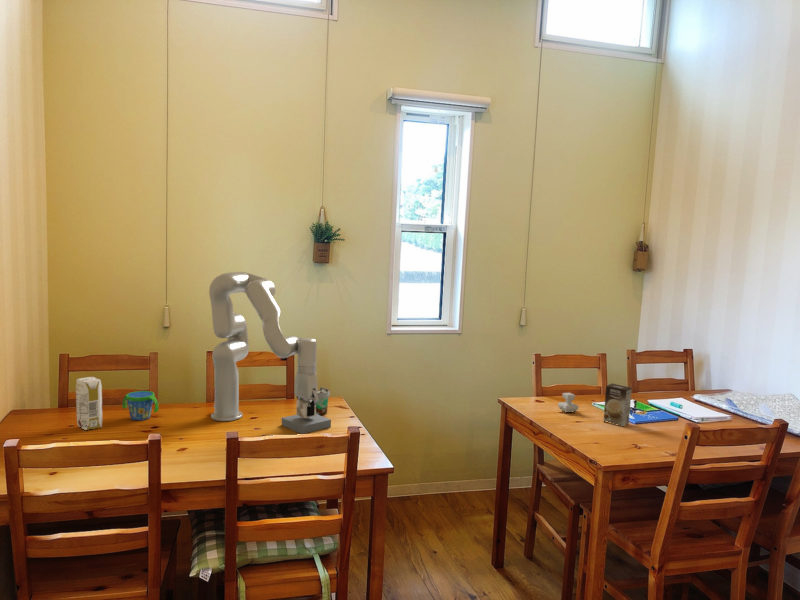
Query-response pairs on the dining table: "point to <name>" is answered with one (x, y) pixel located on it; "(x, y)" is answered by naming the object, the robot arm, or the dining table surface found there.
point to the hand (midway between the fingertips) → (306, 413)
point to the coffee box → (617, 404)
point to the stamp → (568, 403)
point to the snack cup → (140, 404)
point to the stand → (306, 423)
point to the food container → (322, 401)
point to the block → (303, 408)
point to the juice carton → (89, 403)
